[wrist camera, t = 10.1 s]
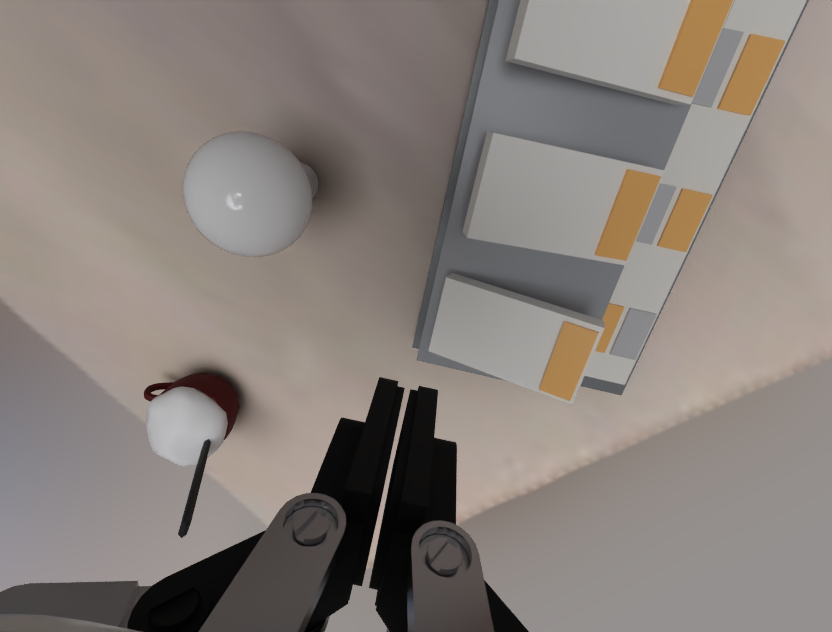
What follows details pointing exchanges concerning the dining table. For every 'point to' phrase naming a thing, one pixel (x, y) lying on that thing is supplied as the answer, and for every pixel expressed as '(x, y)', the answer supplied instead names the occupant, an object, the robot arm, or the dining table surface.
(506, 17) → the switch unit
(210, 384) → the cocoa
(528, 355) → the switch
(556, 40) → the switch
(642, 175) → the switch
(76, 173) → the dining table surface
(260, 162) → the lightbulb
